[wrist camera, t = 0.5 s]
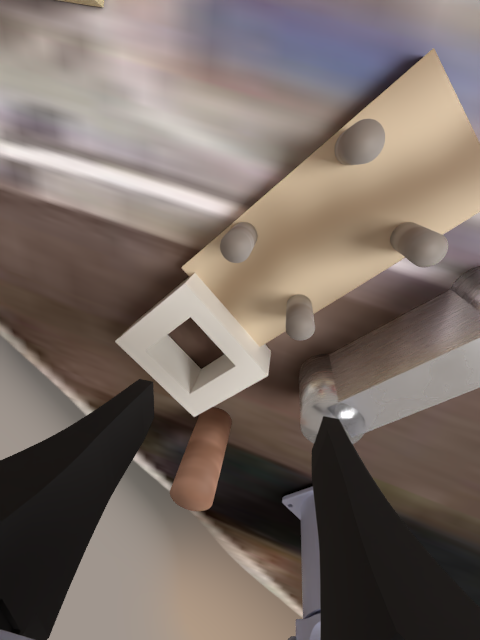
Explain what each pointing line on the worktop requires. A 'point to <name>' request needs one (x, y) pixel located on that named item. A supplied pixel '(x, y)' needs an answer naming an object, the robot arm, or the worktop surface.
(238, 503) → the worktop surface
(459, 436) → the worktop surface
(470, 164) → the peg board
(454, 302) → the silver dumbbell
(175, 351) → the slot block
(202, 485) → the pin
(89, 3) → the milk carton
